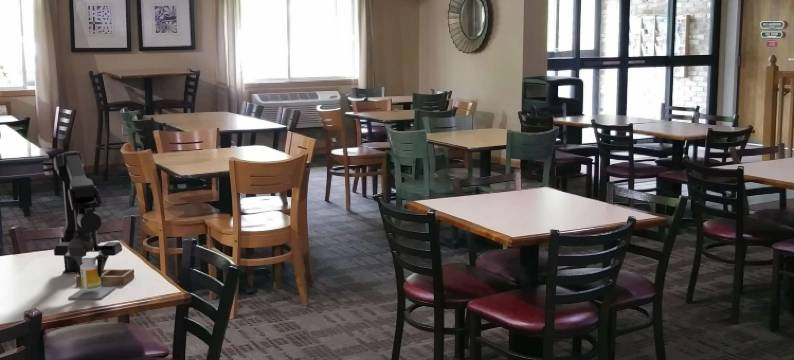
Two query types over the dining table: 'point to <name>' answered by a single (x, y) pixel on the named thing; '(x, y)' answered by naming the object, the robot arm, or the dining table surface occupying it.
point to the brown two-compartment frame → (113, 277)
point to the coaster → (92, 293)
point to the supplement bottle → (90, 273)
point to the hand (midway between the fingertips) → (90, 276)
